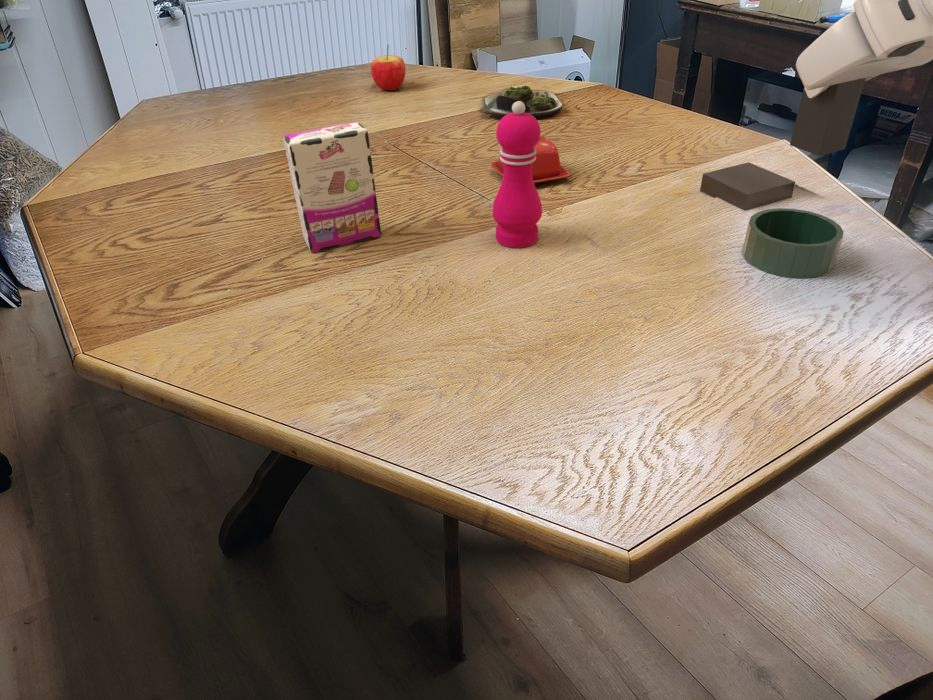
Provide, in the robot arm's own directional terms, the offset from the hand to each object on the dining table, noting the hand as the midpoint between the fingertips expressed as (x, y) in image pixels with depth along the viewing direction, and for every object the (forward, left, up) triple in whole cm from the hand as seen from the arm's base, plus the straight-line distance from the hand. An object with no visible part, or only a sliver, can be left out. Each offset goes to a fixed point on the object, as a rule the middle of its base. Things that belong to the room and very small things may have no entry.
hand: (827, 88), depth 82 cm
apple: (+16, -109, -23) cm, 113 cm away
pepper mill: (+29, -23, -23) cm, 44 cm away
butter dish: (+15, -43, -23) cm, 51 cm away
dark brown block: (0, +1, -7) cm, 7 cm away
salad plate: (-3, -77, -23) cm, 80 cm away
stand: (-11, -18, -23) cm, 31 cm away
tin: (0, +1, -23) cm, 23 cm away
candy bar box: (+52, -36, -23) cm, 67 cm away
